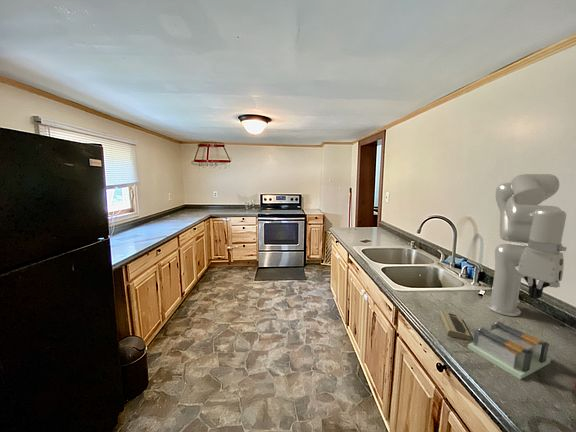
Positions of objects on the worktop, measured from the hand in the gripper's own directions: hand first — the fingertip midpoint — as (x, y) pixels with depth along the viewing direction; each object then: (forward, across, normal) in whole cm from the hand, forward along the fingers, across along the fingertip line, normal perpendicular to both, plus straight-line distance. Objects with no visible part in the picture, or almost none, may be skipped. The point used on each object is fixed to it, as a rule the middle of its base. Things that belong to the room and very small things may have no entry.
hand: (534, 297), depth 88 cm
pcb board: (+22, +2, +7) cm, 23 cm away
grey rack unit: (+20, +2, +7) cm, 21 cm away
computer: (+22, +21, +7) cm, 31 cm away
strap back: (+15, +2, +2) cm, 15 cm away
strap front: (+15, +2, +12) cm, 19 cm away
